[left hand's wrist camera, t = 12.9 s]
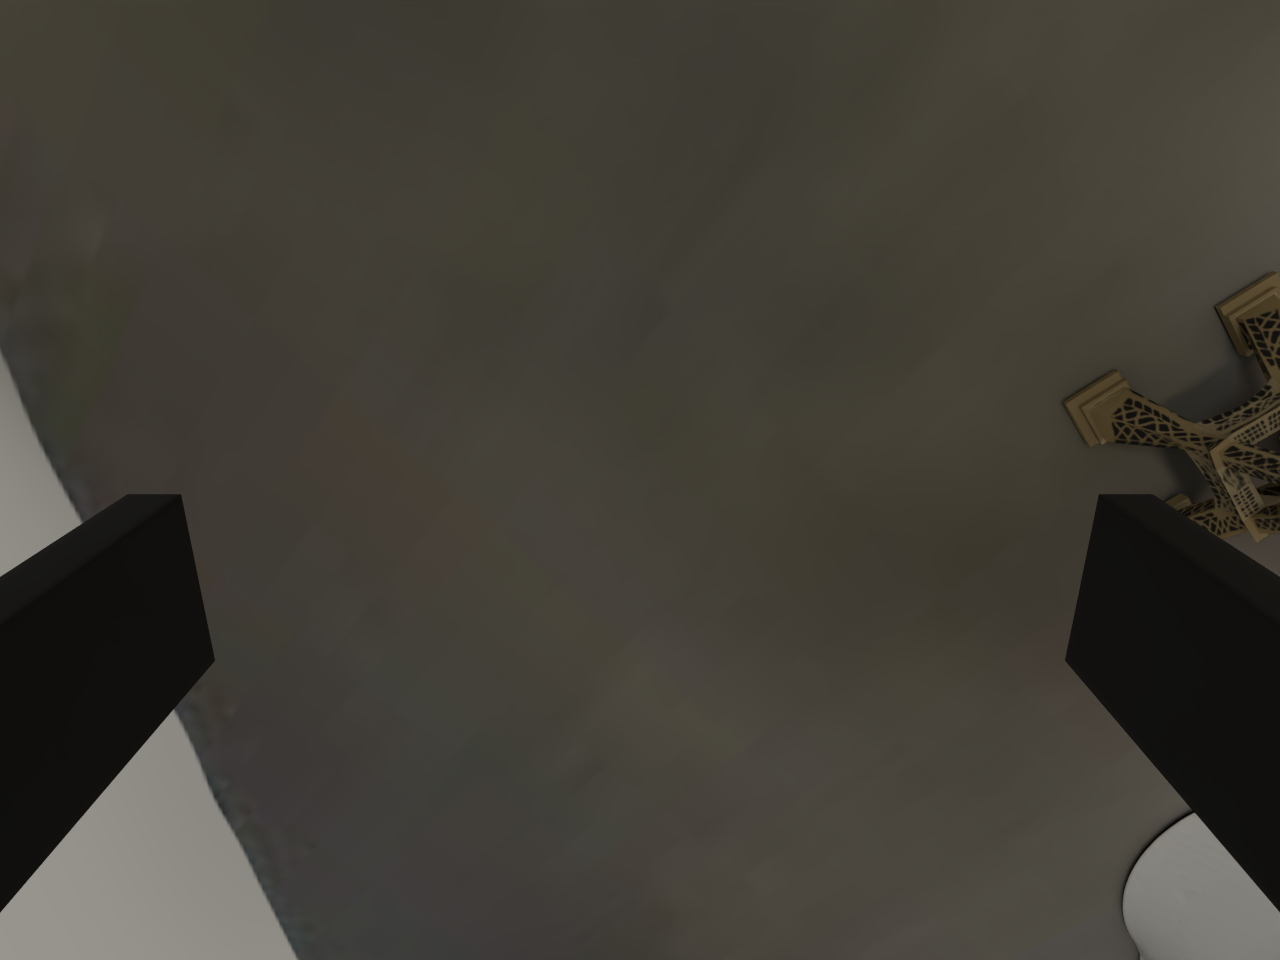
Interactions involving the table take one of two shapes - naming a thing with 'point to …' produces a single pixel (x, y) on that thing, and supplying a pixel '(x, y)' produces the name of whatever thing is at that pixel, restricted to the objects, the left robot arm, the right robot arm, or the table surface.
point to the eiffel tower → (1209, 424)
